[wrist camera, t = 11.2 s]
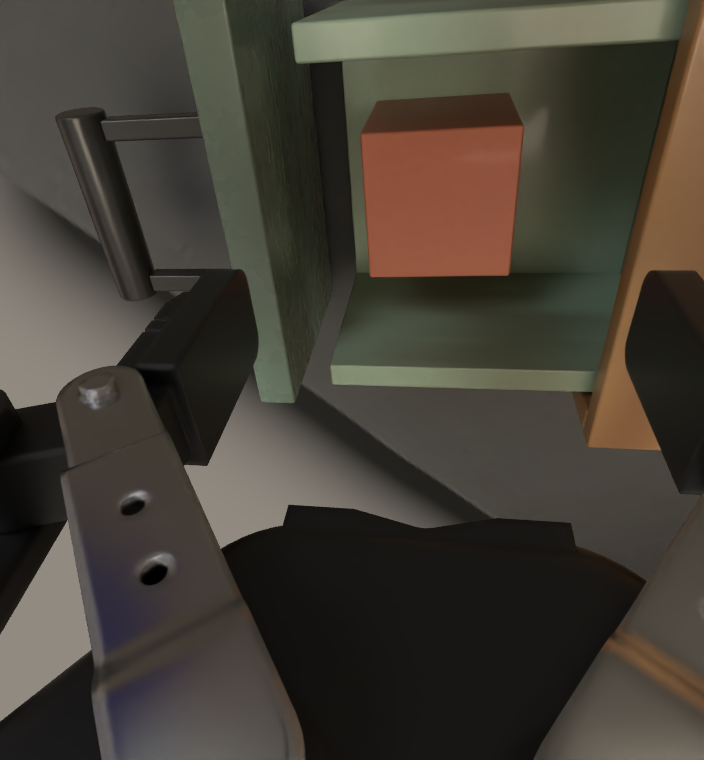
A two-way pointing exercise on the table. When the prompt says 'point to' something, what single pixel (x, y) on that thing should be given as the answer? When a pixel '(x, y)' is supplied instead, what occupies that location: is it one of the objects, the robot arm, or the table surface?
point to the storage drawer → (304, 188)
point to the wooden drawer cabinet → (655, 242)
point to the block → (441, 185)
